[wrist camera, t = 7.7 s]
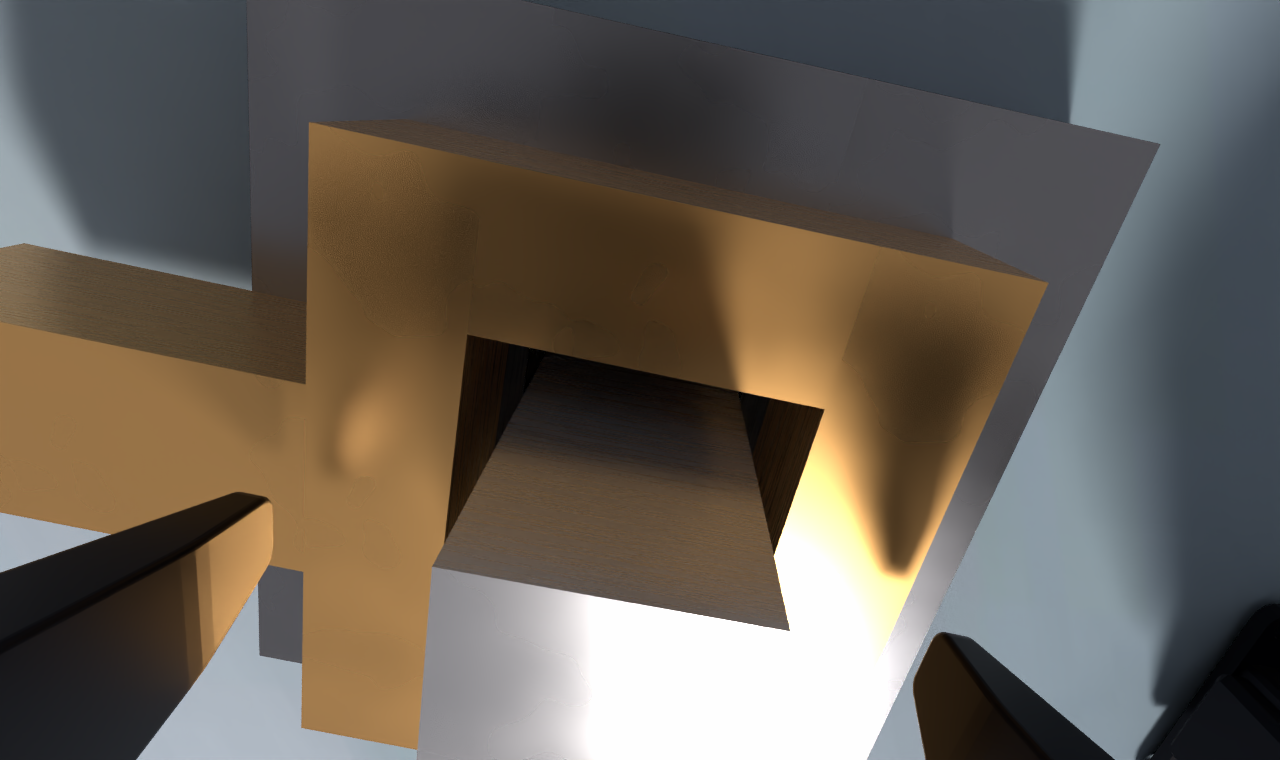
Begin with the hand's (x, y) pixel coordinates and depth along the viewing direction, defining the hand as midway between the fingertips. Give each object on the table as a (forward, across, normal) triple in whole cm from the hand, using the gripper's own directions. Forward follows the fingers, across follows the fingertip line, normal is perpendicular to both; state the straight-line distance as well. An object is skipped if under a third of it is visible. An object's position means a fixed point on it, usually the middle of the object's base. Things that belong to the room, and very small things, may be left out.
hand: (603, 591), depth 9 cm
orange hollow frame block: (+7, +2, 0) cm, 7 cm away
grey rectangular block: (+6, 0, 0) cm, 6 cm away
